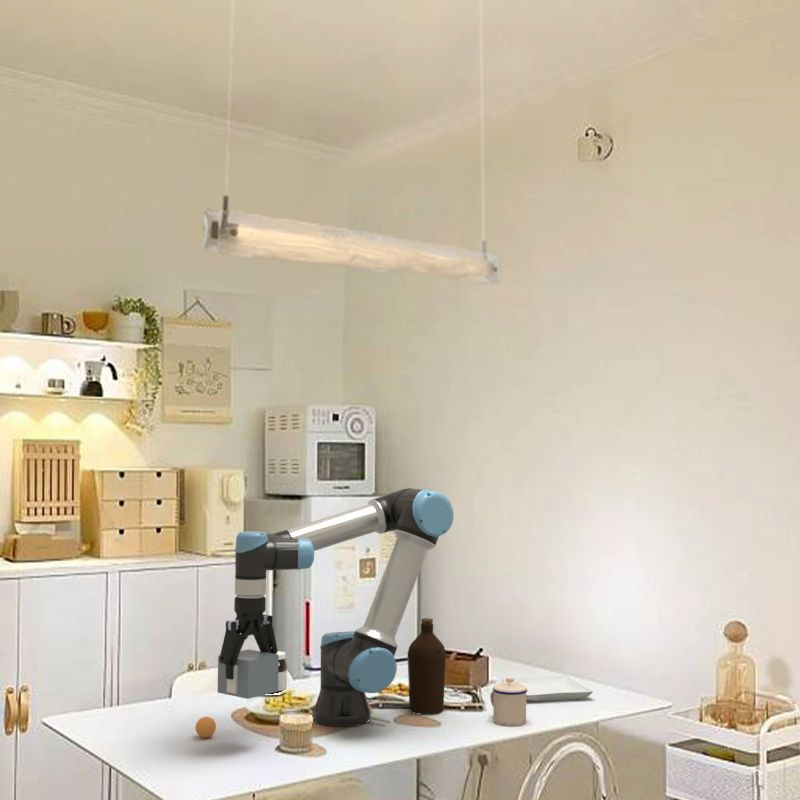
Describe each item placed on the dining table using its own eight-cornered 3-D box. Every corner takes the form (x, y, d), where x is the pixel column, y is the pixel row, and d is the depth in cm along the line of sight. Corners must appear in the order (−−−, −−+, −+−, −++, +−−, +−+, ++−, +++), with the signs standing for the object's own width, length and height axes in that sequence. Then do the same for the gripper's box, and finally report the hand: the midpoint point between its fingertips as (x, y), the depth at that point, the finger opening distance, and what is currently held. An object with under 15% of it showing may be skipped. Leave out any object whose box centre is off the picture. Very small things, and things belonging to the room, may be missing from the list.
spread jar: (284, 697, 307) (284, 656, 307) (245, 697, 307) (245, 656, 308) (289, 688, 319) (289, 648, 319) (251, 687, 319) (251, 648, 320)
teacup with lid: (534, 723, 281) (534, 678, 281) (508, 728, 276) (508, 682, 276) (503, 713, 291) (504, 670, 291) (478, 718, 285) (478, 674, 286)
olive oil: (450, 708, 296) (451, 617, 297) (438, 717, 286) (438, 623, 287) (415, 704, 300) (415, 615, 301) (401, 713, 290) (402, 620, 291)
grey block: (277, 691, 258) (278, 654, 258) (248, 698, 250) (248, 660, 250) (247, 685, 264) (248, 649, 264) (217, 692, 256) (218, 655, 256)
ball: (220, 736, 265) (220, 716, 265) (205, 741, 261) (205, 720, 261) (205, 733, 268) (206, 713, 268) (191, 737, 264) (191, 717, 264)
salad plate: (525, 706, 301) (525, 693, 302) (500, 689, 322) (500, 677, 322) (594, 702, 306) (594, 690, 306) (566, 686, 327) (566, 674, 327)
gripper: (271, 589, 269) (269, 678, 268) (204, 599, 251) (202, 694, 250) (293, 592, 265) (291, 682, 264) (227, 602, 246) (224, 699, 245)
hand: (248, 688), depth 257 cm, fingers closed on grey block, 10 cm apart
